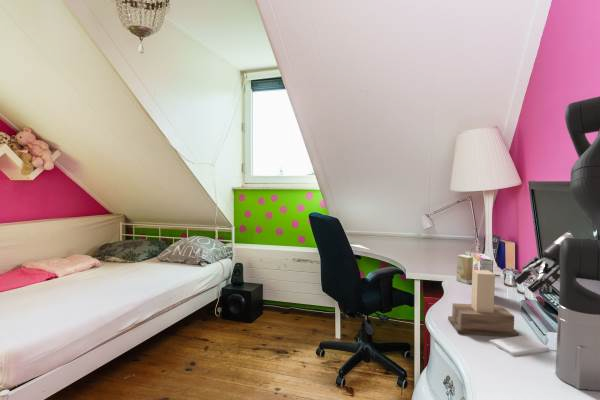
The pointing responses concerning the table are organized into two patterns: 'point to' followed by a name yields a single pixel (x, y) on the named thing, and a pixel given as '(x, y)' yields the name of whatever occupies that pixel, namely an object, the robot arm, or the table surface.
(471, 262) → the skincare box
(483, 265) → the candy bar box
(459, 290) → the table surface
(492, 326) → the podium
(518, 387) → the table surface
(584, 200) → the robot arm
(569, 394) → the table surface
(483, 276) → the tan carton
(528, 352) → the external hard drive
